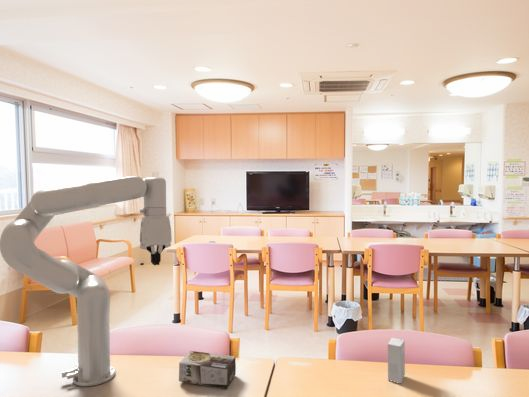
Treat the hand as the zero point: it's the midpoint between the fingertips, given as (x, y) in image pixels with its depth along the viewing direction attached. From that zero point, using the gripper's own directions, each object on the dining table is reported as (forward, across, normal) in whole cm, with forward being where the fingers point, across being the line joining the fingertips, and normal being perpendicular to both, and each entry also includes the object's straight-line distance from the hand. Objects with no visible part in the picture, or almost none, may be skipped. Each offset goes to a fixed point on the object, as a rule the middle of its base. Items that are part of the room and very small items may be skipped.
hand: (155, 264), depth 130 cm
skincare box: (+35, +60, -55) cm, 89 cm away
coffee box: (+31, +4, -15) cm, 35 cm away
